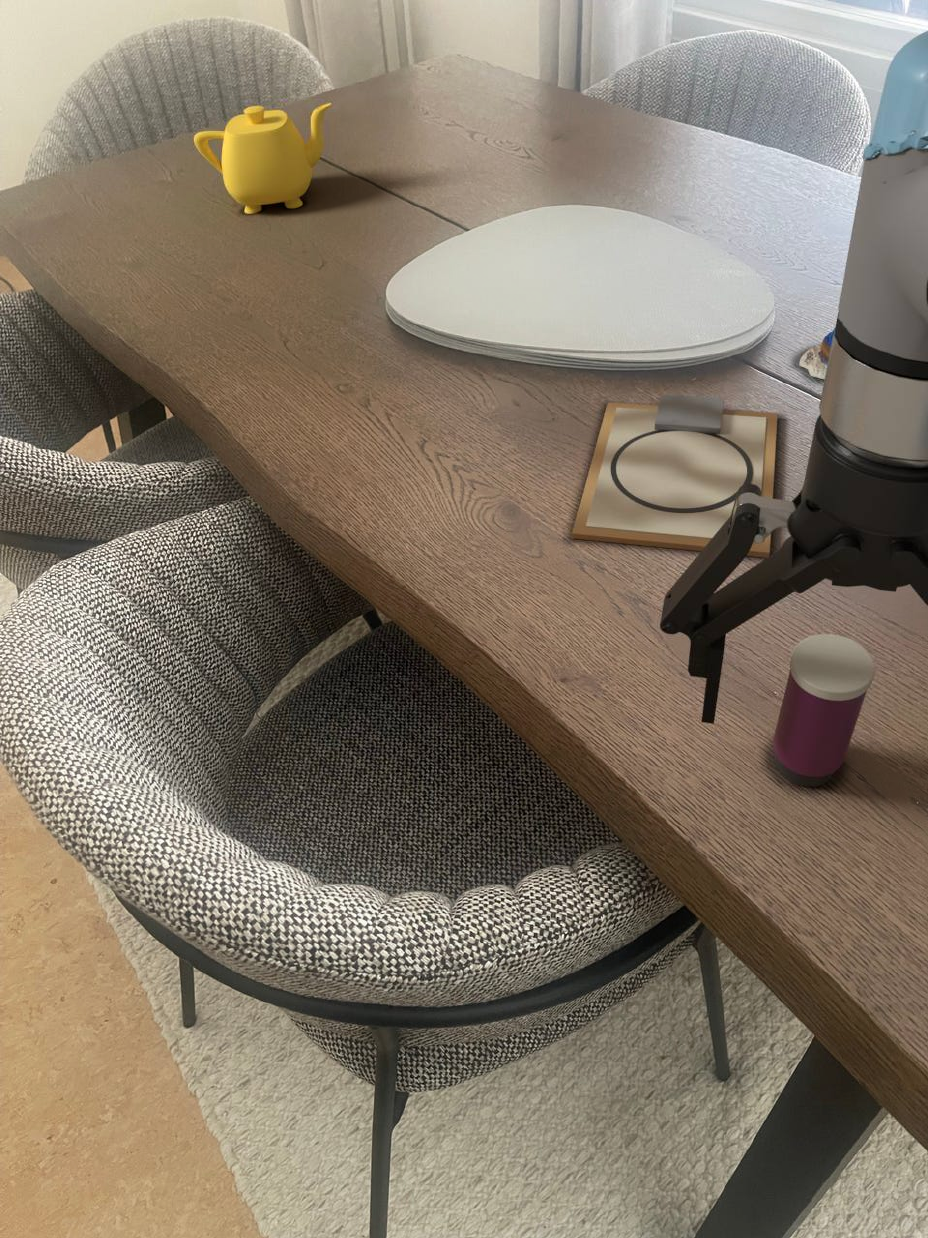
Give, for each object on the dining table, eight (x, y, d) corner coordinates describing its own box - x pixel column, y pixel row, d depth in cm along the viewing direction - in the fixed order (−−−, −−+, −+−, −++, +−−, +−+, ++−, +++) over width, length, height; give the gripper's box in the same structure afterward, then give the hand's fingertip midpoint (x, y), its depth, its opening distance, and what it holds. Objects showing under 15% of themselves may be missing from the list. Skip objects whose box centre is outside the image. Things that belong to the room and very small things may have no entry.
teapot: (346, 207, 133) (330, 113, 125) (208, 225, 133) (181, 132, 125) (346, 173, 143) (331, 83, 134) (216, 189, 143) (192, 101, 134)
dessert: (905, 355, 92) (893, 323, 88) (867, 412, 93) (853, 383, 88) (834, 334, 97) (818, 303, 93) (798, 389, 98) (782, 360, 93)
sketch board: (768, 558, 75) (771, 545, 74) (572, 538, 79) (571, 525, 78) (777, 414, 89) (779, 401, 88) (608, 403, 93) (609, 390, 92)
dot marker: (841, 798, 59) (877, 697, 52) (766, 786, 60) (790, 686, 53) (841, 740, 62) (874, 638, 55) (769, 730, 63) (792, 628, 56)
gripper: (1198, 394, 42) (1041, 703, 57) (637, 368, 48) (626, 653, 63) (1251, 494, 37) (1063, 805, 51) (616, 451, 43) (610, 740, 58)
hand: (823, 722), depth 57 cm, fingers open, 13 cm apart
